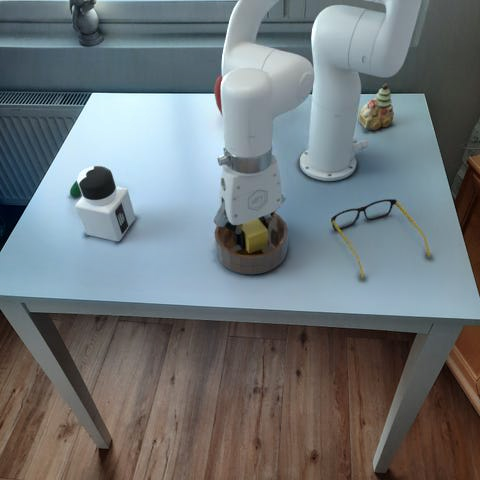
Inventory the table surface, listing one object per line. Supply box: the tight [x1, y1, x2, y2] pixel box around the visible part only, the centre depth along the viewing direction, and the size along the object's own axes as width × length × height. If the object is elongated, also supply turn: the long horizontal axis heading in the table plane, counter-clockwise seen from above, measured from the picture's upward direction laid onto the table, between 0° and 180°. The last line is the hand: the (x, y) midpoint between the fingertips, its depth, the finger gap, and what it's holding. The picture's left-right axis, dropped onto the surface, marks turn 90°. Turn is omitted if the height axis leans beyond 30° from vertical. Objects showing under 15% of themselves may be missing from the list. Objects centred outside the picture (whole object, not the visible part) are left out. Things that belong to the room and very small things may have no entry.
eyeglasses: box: [330, 198, 431, 279], centre depth 90 cm, size 14×14×4 cm
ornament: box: [358, 83, 395, 131], centre depth 112 cm, size 8×6×10 cm
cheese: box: [242, 218, 268, 254], centre depth 88 cm, size 4×6×4 cm, turn 27°
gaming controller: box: [69, 170, 83, 198], centre depth 103 cm, size 9×4×6 cm
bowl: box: [214, 212, 289, 275], centre depth 90 cm, size 14×14×5 cm
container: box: [74, 165, 136, 243], centre depth 92 cm, size 8×8×13 cm
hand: (250, 239), depth 89 cm, fingers closed on cheese, 4 cm apart
